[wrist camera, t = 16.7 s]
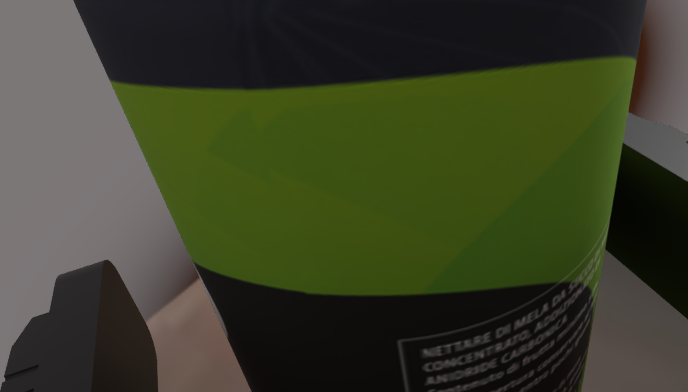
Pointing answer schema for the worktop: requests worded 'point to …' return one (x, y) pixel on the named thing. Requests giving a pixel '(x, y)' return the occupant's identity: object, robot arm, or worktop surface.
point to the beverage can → (385, 178)
